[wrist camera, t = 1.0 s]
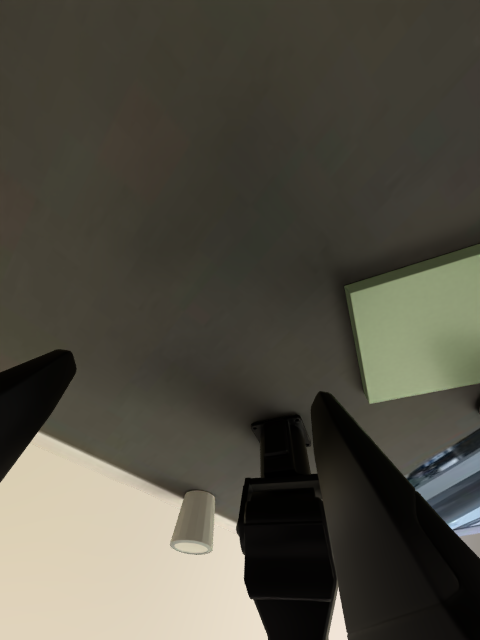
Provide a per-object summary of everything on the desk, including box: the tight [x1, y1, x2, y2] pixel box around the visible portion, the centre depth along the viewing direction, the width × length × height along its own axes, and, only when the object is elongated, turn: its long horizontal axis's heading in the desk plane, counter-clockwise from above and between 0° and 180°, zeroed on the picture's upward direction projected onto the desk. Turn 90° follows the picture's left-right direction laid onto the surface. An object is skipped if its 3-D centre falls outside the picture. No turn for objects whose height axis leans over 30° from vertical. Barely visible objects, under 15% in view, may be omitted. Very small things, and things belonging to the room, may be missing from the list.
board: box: [344, 244, 480, 404], centre depth 20 cm, size 14×18×2 cm
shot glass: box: [170, 490, 215, 555], centre depth 40 cm, size 7×7×7 cm
